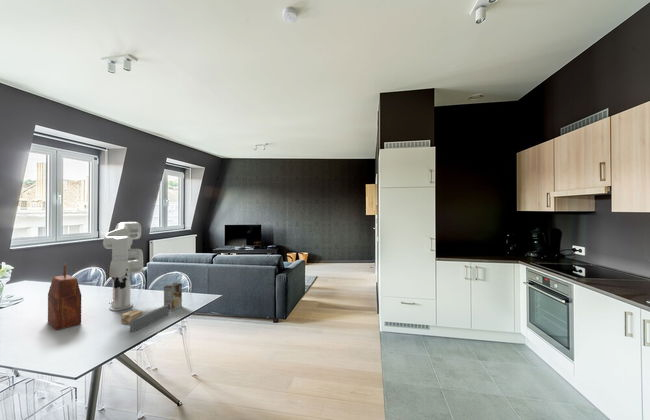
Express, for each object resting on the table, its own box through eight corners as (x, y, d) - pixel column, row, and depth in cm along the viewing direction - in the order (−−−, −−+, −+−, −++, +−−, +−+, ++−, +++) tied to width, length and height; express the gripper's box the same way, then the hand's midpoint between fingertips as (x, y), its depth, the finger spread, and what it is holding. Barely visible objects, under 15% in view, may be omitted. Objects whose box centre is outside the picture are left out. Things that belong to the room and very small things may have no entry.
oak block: (121, 322, 152) (121, 314, 152) (132, 318, 159) (132, 310, 159) (131, 324, 151) (131, 315, 151) (141, 319, 158) (142, 311, 158)
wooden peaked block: (71, 316, 160) (72, 260, 161) (81, 324, 150) (81, 263, 150) (47, 322, 152) (48, 263, 152) (55, 331, 141) (56, 267, 141)
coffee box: (174, 305, 180) (174, 282, 180) (182, 306, 179) (182, 283, 179) (163, 310, 171) (163, 286, 171) (171, 311, 170) (171, 287, 170)
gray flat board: (130, 331, 141) (130, 320, 141) (165, 314, 165) (165, 305, 165) (133, 332, 141) (133, 321, 141) (167, 314, 164) (167, 305, 164)
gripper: (102, 258, 155) (102, 288, 155) (125, 259, 152) (125, 290, 151) (115, 256, 162) (114, 285, 162) (137, 257, 159) (136, 287, 159)
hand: (119, 287), depth 157 cm, fingers open, 3 cm apart
